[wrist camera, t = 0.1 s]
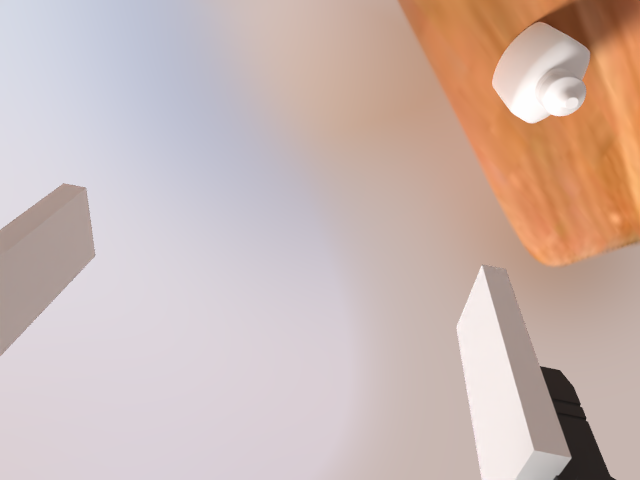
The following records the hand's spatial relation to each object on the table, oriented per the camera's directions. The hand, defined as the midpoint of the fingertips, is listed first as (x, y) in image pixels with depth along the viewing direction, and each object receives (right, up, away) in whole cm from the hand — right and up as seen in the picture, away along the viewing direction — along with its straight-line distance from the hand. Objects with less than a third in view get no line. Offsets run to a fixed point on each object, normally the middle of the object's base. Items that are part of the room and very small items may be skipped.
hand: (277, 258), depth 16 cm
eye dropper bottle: (+17, +15, +22) cm, 31 cm away
